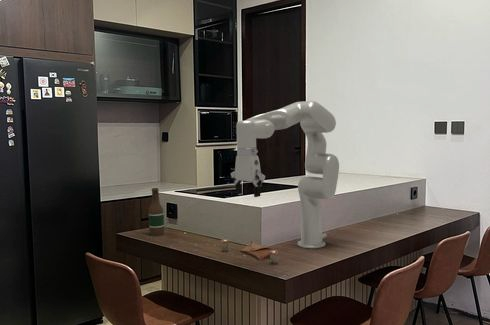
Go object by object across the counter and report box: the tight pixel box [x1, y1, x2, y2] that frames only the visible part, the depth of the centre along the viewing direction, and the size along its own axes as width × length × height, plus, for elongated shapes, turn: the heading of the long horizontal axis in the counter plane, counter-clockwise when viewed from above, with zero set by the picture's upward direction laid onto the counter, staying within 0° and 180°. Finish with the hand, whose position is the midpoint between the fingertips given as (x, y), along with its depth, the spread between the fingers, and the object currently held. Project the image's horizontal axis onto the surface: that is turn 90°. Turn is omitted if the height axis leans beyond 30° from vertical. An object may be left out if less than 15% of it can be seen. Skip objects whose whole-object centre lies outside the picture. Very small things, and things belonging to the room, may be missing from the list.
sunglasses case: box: [238, 241, 274, 261], centre depth 208 cm, size 18×7×7 cm, turn 35°
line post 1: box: [220, 238, 230, 253], centre depth 213 cm, size 3×3×5 cm
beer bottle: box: [148, 187, 165, 237], centre depth 246 cm, size 8×8×24 cm
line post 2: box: [269, 249, 279, 265], centre depth 194 cm, size 3×3×5 cm
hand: (247, 195), depth 189 cm, fingers open, 9 cm apart
